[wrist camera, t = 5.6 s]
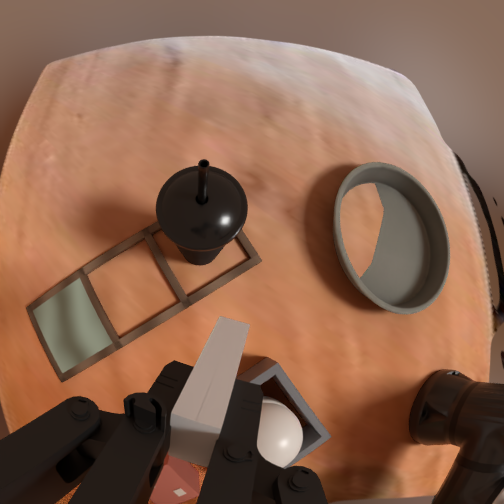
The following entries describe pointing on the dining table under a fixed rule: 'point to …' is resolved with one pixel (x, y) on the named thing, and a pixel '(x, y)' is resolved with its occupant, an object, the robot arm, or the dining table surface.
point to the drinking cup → (201, 211)
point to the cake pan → (399, 241)
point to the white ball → (278, 433)
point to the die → (176, 482)
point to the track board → (94, 317)
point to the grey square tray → (314, 429)
